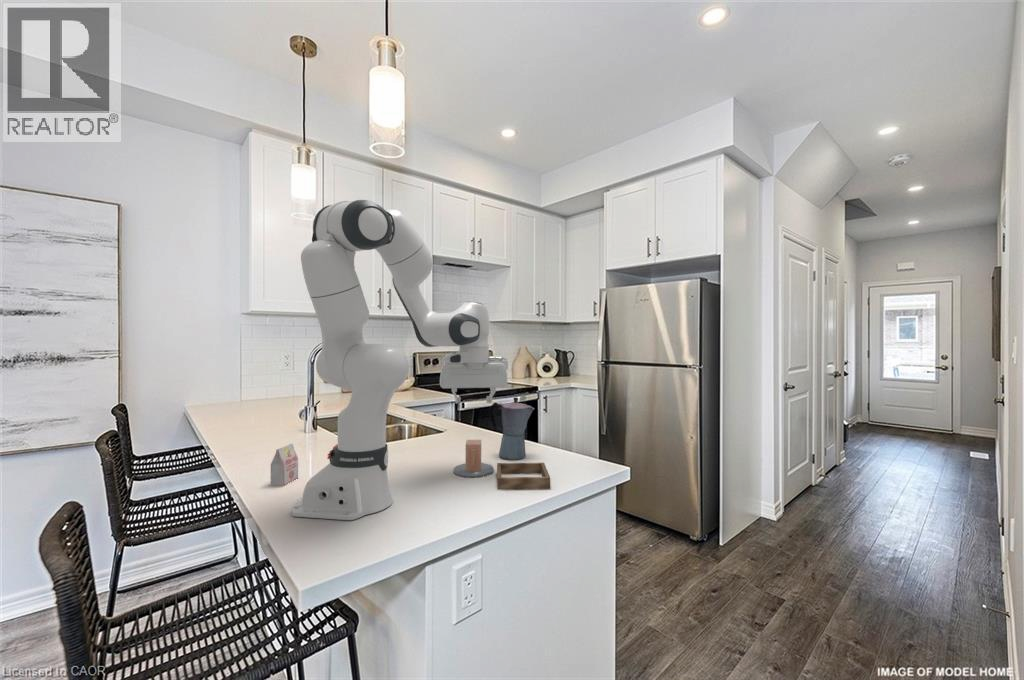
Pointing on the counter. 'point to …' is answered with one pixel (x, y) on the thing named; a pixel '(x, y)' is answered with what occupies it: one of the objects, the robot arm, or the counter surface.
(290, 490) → the counter surface
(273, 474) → the milk carton
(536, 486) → the frame
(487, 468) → the slate coaster
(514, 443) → the moka pot
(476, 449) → the terracotta clay block
